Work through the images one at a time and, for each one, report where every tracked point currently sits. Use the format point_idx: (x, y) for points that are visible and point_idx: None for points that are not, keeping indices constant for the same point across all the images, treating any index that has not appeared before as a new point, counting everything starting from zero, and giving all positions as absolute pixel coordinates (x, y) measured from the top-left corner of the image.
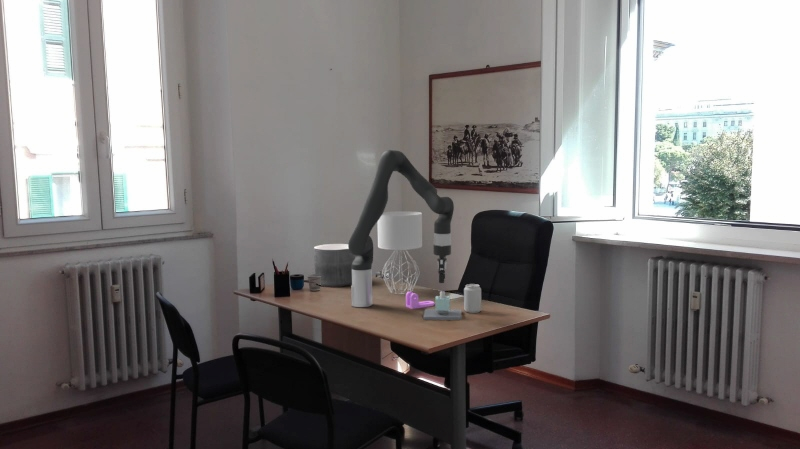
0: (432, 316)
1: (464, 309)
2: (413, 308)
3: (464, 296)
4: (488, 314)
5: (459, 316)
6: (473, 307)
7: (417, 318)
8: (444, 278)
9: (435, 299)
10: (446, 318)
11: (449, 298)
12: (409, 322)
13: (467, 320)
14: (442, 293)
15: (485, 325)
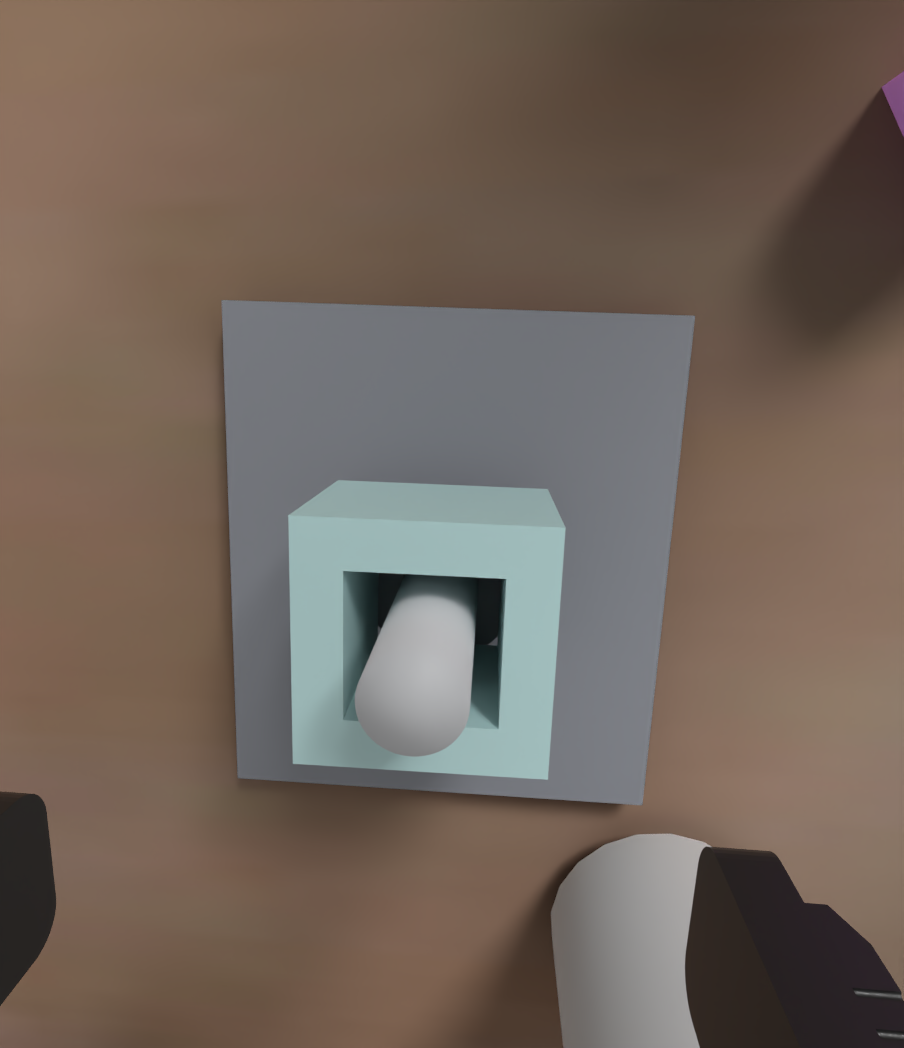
0: (252, 432)
1: (639, 839)
2: (896, 117)
3: (679, 986)
4: (508, 1042)
5: (273, 763)
6: (555, 967)
7: (300, 218)
8: (687, 988)
9: (290, 518)
10: (237, 606)
11: (428, 762)
12: (82, 111)
13: (242, 822)
14: (359, 692)
15: (62, 968)
